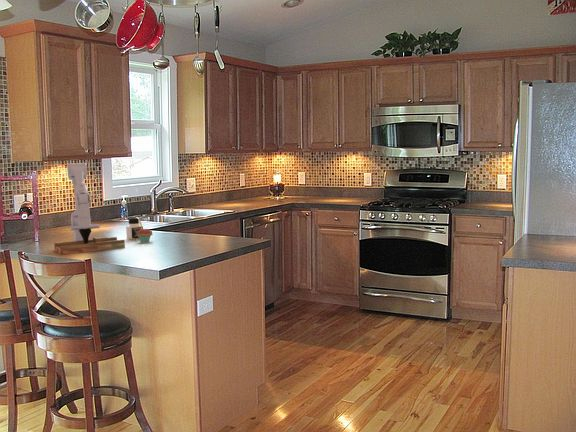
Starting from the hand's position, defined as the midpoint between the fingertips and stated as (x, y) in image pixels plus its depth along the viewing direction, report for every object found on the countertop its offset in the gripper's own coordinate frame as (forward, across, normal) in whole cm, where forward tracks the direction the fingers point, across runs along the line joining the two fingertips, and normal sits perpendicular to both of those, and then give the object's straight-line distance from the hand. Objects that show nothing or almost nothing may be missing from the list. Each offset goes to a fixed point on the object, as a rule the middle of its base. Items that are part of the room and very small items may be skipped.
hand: (85, 243), depth 325 cm
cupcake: (+3, +33, +5) cm, 33 cm away
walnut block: (+1, +7, 0) cm, 7 cm away
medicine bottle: (+3, +33, +21) cm, 39 cm away
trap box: (+3, +2, 0) cm, 4 cm away
